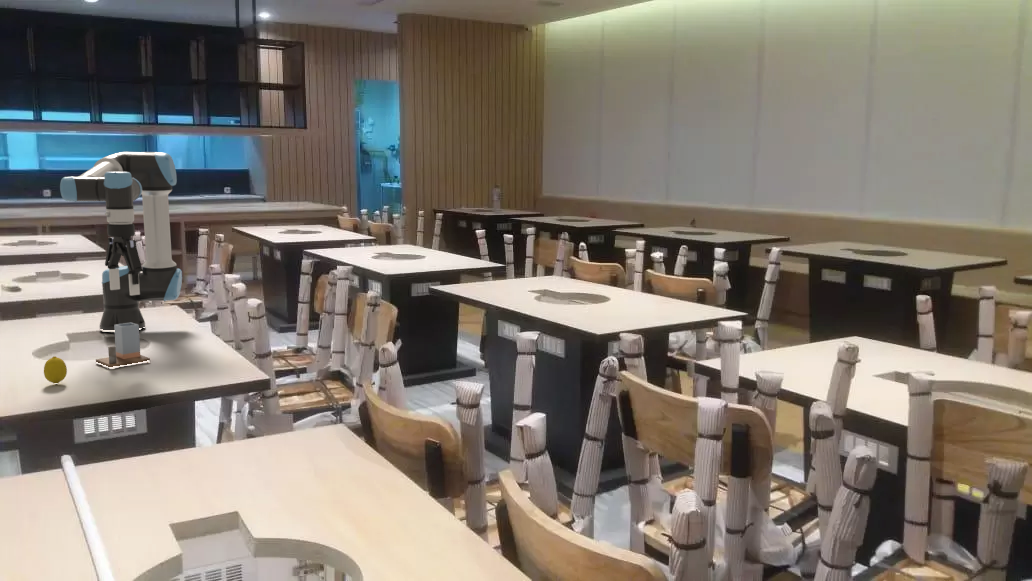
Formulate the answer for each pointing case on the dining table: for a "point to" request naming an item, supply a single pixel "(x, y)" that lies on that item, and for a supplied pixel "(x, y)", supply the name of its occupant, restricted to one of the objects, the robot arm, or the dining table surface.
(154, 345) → the dining table surface
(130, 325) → the sleeve
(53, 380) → the lemon
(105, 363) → the pin board
